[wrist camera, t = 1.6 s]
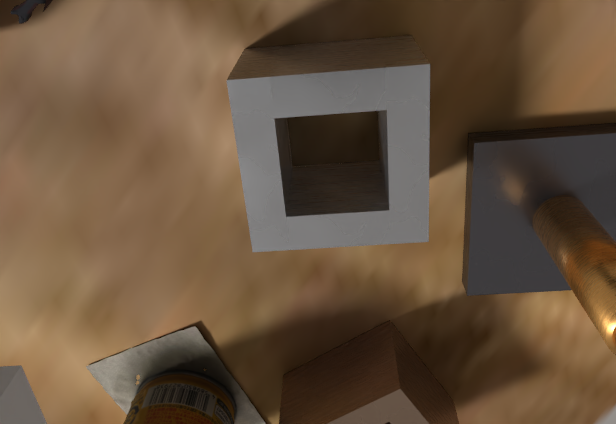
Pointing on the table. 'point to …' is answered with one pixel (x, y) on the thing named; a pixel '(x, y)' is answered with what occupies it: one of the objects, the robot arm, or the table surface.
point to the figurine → (28, 9)
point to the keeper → (544, 216)
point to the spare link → (366, 385)
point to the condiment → (174, 383)
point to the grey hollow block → (337, 176)
